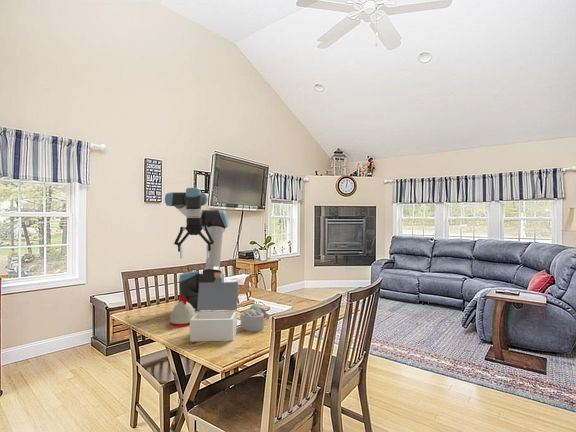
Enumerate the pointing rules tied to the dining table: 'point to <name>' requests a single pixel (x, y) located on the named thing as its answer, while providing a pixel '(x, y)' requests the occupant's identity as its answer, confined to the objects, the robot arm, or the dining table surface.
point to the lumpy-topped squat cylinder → (252, 320)
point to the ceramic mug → (257, 306)
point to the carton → (213, 326)
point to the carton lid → (217, 295)
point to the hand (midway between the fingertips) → (194, 257)
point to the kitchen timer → (182, 313)
